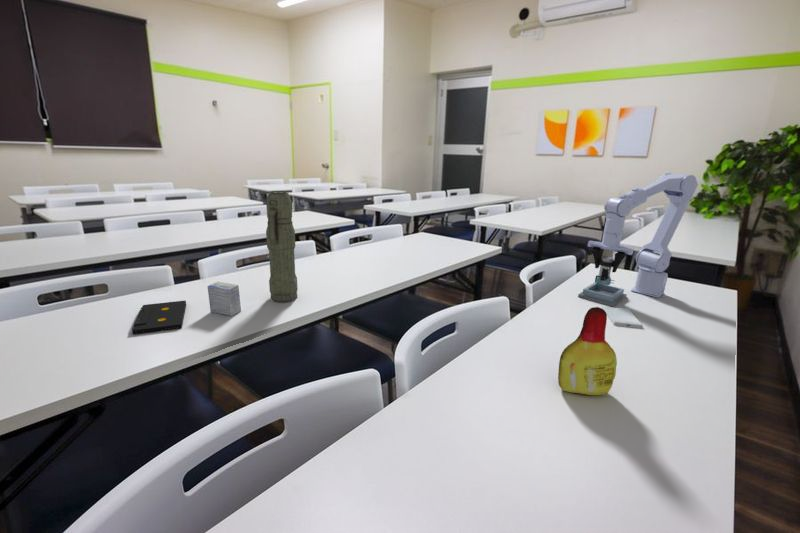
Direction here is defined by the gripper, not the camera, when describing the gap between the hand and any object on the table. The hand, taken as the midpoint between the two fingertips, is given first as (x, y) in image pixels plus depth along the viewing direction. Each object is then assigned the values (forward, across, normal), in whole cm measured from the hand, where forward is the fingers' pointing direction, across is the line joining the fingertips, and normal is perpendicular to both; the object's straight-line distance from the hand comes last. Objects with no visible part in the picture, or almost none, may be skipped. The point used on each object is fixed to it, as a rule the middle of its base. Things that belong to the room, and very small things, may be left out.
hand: (605, 269), depth 143 cm
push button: (+6, 0, +1) cm, 6 cm away
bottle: (+10, +20, -66) cm, 69 cm away
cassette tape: (+11, -78, -123) cm, 146 cm away
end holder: (+10, +1, -1) cm, 10 cm away
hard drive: (+11, +12, -16) cm, 23 cm away
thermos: (+10, -70, -89) cm, 114 cm away
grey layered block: (+10, -71, -108) cm, 129 cm away
